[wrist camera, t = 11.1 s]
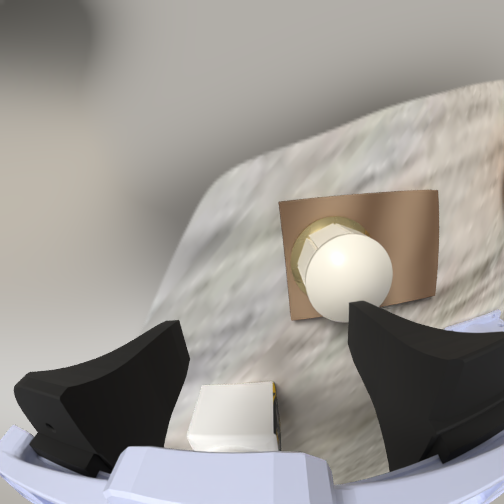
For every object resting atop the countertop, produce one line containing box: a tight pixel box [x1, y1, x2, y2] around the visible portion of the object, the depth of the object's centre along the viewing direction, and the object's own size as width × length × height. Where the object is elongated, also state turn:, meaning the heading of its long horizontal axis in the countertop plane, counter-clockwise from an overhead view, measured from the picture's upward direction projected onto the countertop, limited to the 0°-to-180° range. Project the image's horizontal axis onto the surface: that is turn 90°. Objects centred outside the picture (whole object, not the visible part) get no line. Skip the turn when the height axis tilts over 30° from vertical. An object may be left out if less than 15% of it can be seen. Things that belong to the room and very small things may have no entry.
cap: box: [297, 223, 393, 322], centre depth 17 cm, size 5×5×4 cm
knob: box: [290, 216, 371, 295], centre depth 18 cm, size 6×6×3 cm
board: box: [279, 190, 439, 320], centre depth 20 cm, size 13×9×1 cm
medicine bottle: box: [187, 381, 281, 452], centre depth 19 cm, size 7×7×12 cm
